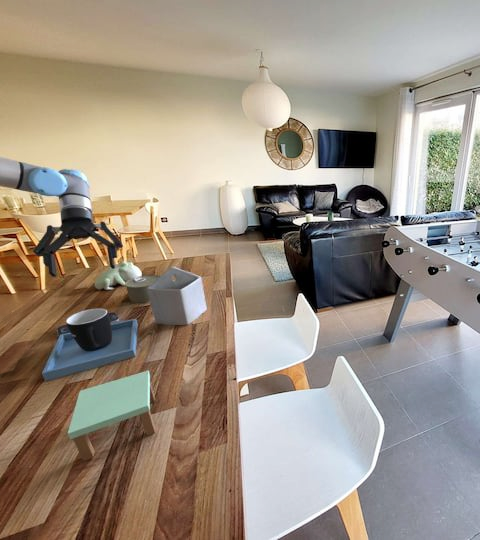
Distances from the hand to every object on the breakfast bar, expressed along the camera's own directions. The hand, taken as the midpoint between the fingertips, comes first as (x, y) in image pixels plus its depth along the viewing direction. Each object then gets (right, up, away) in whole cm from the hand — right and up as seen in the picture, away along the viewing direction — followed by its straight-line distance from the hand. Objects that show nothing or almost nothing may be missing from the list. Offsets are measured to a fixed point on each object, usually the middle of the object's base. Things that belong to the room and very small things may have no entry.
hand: (83, 270), depth 87 cm
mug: (+6, -23, -2) cm, 24 cm away
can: (-3, -11, +30) cm, 32 cm away
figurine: (-21, -6, +39) cm, 45 cm away
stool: (+33, -34, -25) cm, 53 cm away
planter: (+22, -18, +14) cm, 32 cm away
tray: (+6, -23, -2) cm, 24 cm away
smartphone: (-7, -19, +9) cm, 22 cm away
